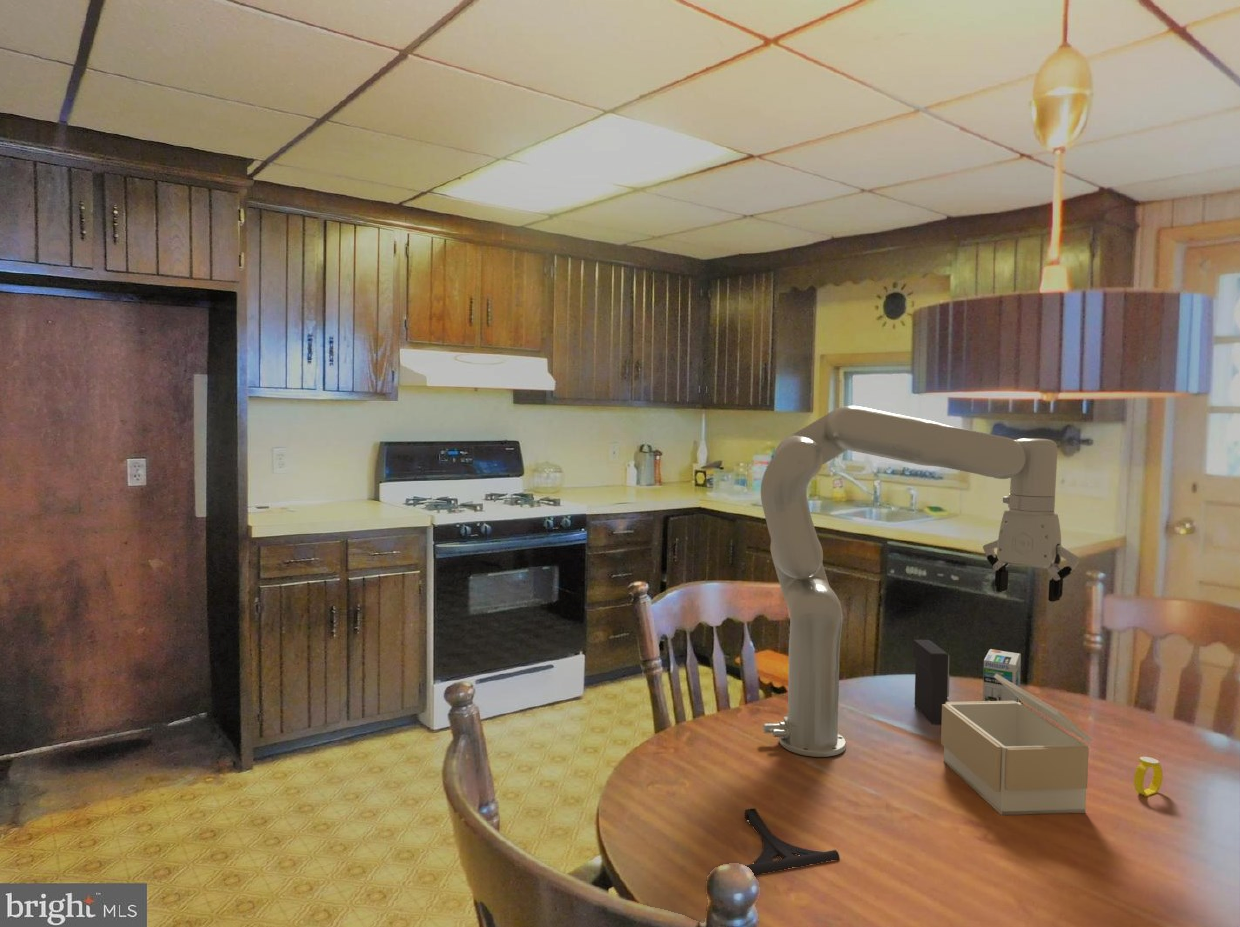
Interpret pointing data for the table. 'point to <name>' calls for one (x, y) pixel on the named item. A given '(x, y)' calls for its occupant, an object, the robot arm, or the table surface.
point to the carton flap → (1043, 708)
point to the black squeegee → (781, 850)
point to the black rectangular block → (931, 679)
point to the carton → (1015, 757)
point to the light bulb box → (1005, 667)
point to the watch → (1140, 773)
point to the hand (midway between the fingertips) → (1027, 595)
